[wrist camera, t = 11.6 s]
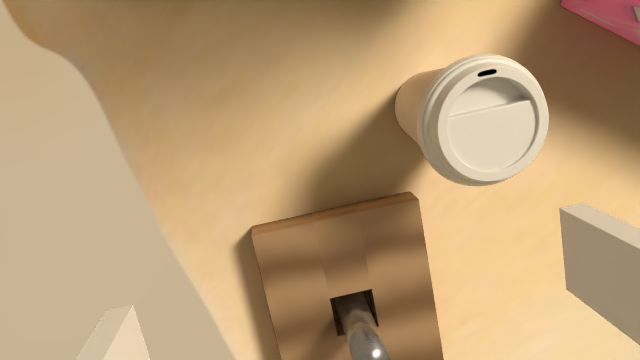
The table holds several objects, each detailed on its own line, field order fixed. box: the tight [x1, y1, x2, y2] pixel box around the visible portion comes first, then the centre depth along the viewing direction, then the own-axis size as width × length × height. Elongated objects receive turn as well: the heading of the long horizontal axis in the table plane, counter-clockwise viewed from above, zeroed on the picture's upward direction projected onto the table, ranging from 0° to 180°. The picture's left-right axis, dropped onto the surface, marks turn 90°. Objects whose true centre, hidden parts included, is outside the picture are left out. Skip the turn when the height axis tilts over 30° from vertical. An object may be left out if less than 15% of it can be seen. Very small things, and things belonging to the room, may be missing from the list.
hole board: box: [251, 192, 444, 360], centre depth 52 cm, size 20×16×3 cm
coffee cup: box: [395, 54, 549, 186], centre depth 43 cm, size 10×10×15 cm
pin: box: [335, 291, 391, 360], centre depth 48 cm, size 3×3×12 cm
